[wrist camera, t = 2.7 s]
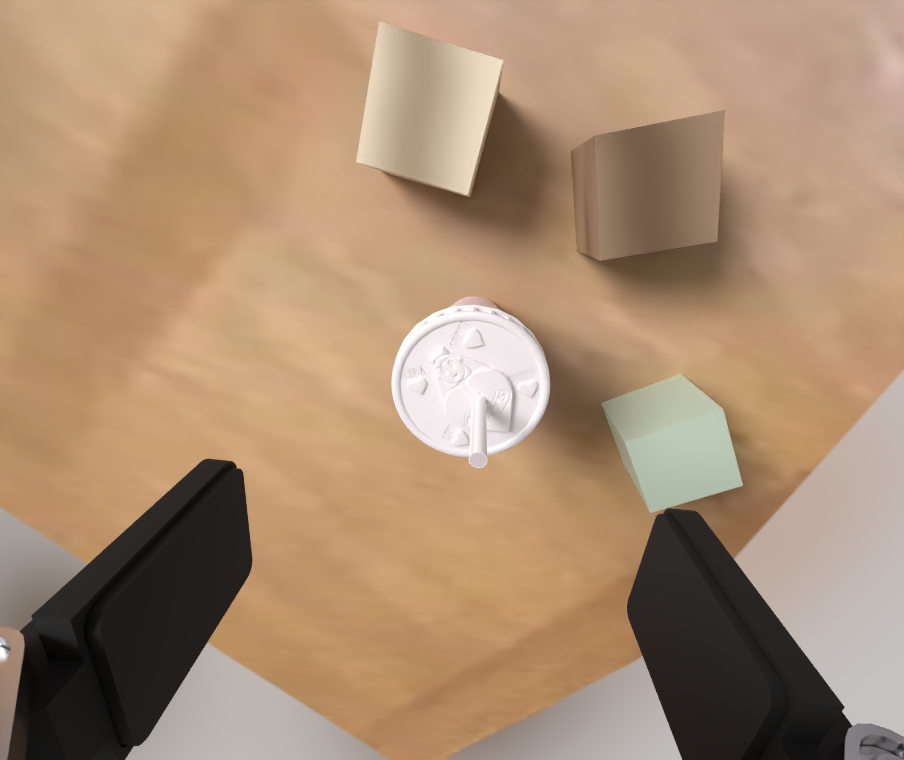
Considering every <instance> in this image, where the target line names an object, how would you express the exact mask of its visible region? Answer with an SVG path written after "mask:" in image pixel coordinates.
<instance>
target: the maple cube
mask: <svg viewBox="0 0 904 760" xmlns="http://www.w3.org/2000/svg"><path fill="white" fill-rule="evenodd" d="M502 66H503V60H500V59H497V58H494V57H491V56H488V55H484V54H481V53H478V52H475V51H472V50H468V49H465V48H462V47H459V46H456V45H452V44H449V43H446V42H443V41H440V40H436V39H433V38H430V37H427V36H424V35H420V34H417V33H414V32H411V31H408V30H404V29H401V28H398V27H395V26H392V25H388V24H385V23H382V22H379V26H378V32H377V38H376V44H375V50H374V56H373V62H372V69H371V75H370V81H369V87H368V93H367V99H366V105H365V111H364V117H363V124H362V130H361V136H360V142H359V148H358V154H357V160H356V162H358V163H360V164H363V165H366V166H369V167H371V168H374V169H377V170H380V171H382V172H386V173H389V174H393V175H396V176H399V177H403V178H406V179H409V180H413V181H416V182H419V183H423V184H426V185H429V186H433V187H436V188H440V189H443V190H446V191H450V192H453V193H456V194H460V195H463V196H466V197H470V198H471V195H472V191H473V187H474V184H475V180H476V176H477V172H478V169H479V165H480V161H481V157H482V154H483V150H484V146H485V142H486V139H487V135H488V131H489V127H490V124H491V120H492V116H493V112H494V109H495V105H496V101H497V97H498V94H499V88H500V81H501V73H502Z"/></svg>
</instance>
